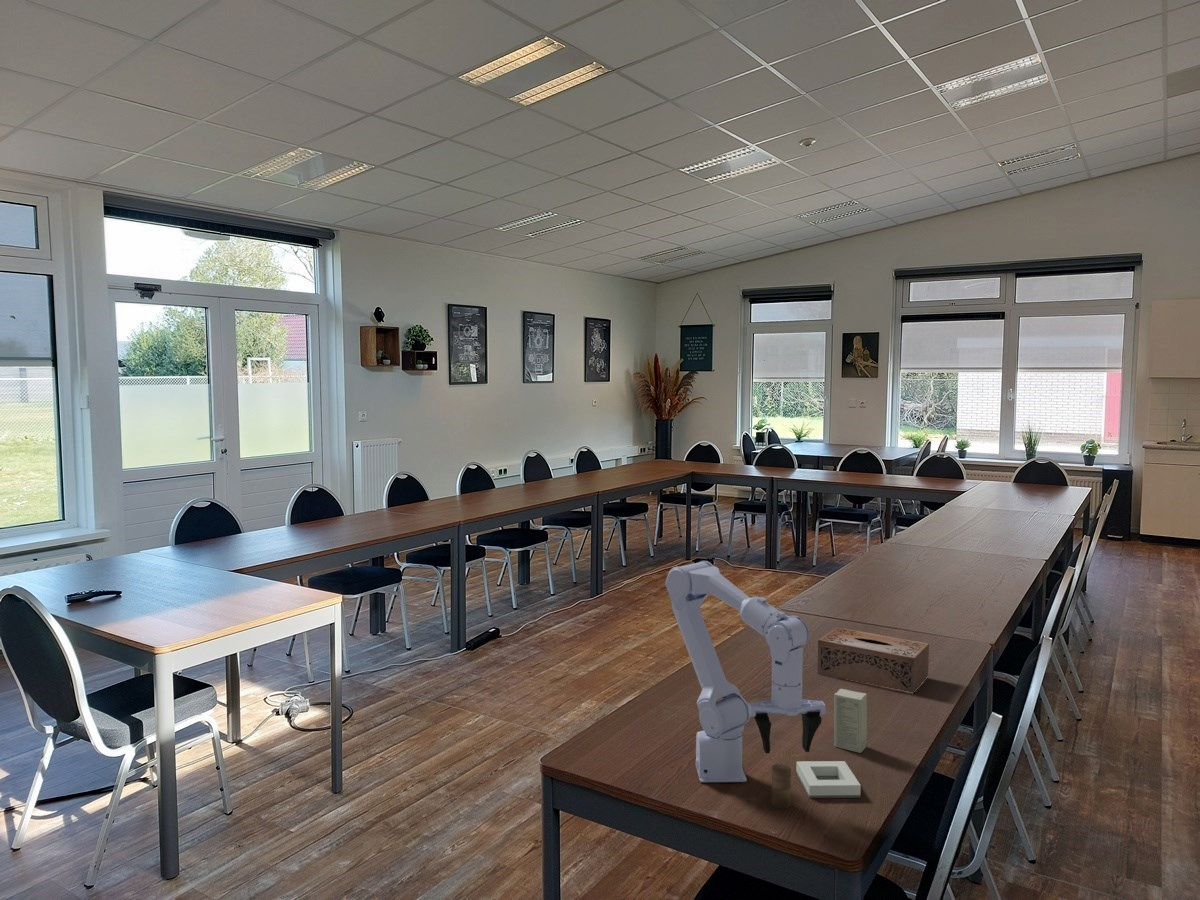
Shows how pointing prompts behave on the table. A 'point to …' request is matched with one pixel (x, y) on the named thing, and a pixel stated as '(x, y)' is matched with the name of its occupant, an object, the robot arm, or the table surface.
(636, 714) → the table surface
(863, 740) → the skincare box
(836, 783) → the socket block
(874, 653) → the tissue box cover
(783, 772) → the pin
